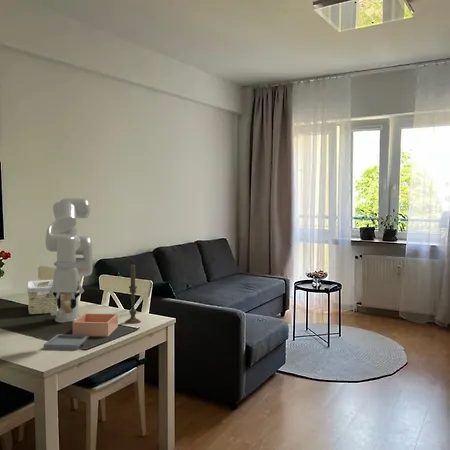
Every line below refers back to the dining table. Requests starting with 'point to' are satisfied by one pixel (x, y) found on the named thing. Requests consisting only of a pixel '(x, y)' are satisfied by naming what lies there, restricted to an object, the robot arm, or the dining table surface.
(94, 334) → the pink open storage bin
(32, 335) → the dining table surface
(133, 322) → the candlestick holder
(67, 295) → the birch peg
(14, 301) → the dining table surface
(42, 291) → the storage basket
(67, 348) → the grey tray
